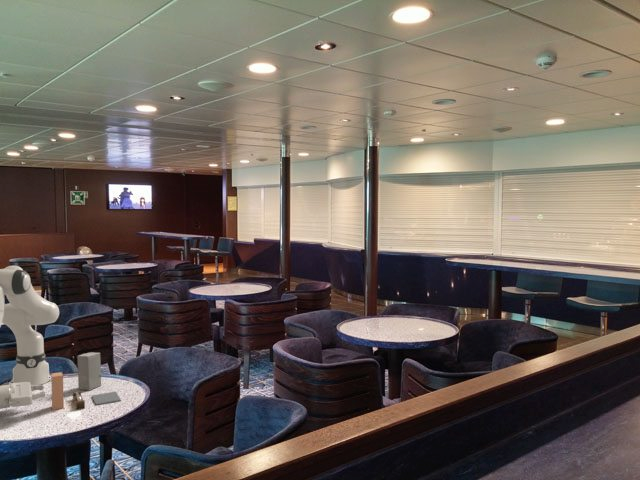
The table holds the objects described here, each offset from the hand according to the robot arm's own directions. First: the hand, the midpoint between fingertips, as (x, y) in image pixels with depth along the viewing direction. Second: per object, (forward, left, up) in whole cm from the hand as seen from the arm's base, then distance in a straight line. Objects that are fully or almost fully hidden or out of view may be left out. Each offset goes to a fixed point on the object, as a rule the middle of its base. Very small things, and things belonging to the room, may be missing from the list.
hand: (44, 390), depth 214 cm
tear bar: (0, +13, -8) cm, 15 cm away
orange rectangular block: (0, +5, -8) cm, 9 cm away
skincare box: (-20, +20, -8) cm, 29 cm away
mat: (0, +24, -8) cm, 25 cm away
